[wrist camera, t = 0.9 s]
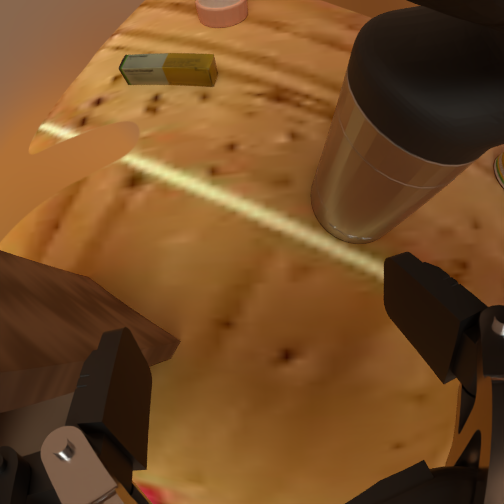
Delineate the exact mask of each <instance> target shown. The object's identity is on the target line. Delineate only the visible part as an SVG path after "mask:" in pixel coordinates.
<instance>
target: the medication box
mask: <svg viewBox="0 0 504 504" xmlns="http://www.w3.org/2000/svg"><path fill="white" fill-rule="evenodd" d="M119 70H120V72H121V74H122V75H123V77H124V78H125V80H126V82H127V83H128V85H186V86H206V87H214V84H215V82H216V79H217V75H218V72H217V67H216V63H215V58H214V54H189V53H166V54H137V55H125V56H124V58H123V60H122V62H121V64H120V66H119Z"/></svg>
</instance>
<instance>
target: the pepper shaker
mask: <svg viewBox="0 0 504 504" xmlns="http://www.w3.org/2000/svg"><path fill="white" fill-rule="evenodd" d="M195 3H196V8H197V12H198V16H199V20H200V22H201V23H202V24H204V25H206V26H209V27H215V28H221V27H228V26H233V25H235V24H238V23H240V22H241V21H243V20H244V19H245V18H246V16H247V13H248V10H247V0H196V2H195Z"/></svg>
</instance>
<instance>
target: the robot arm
mask: <svg viewBox="0 0 504 504" xmlns="http://www.w3.org/2000/svg"><path fill="white" fill-rule="evenodd" d="M407 1H410V2H413V3H415V4H418V5H421V6H417V7H411V8H405V9H400V10H394V11H390V12H386V13H383V14H380V15H378V16H376V17H374V18H373V19H371V20H370V21H368V22H367V23H366V24H365V25H364V26H363V27H362V29H361V30H360V32H359V33H358V35H357V37H356V40H355V42H354V45H353V48H352V52H351V56H350V60H349V64H348V67H347V70H346V74H345V77H344V81H343V85H342V88H341V92H340V95H339V99H338V103H337V106H336V110H335V113H334V116H333V120H332V123H331V126H330V130H329V133H328V136H327V140H326V143H325V146H324V150H323V153H322V156H321V159H320V163H319V165H318V168H317V172H316V175H315V178H314V182H313V185H312V189H311V202H312V207H313V210H314V213H315V215H316V217H317V219H318V220H319V222H320V224H321V225H322V226H323V227H324V228H325V229H326V230H327V231H328V232H329V233H331V234H332V235H333V236H335V237H336V238H339V239H341V240H343V241H346V242H350V243H355V244H364V243H369V242H373V241H375V240H377V239H379V238H381V237H382V236H384V235H385V234H386V233H388V232H389V231H390V230H392V229H393V228H394V227H396V226H397V225H398V224H400V223H401V222H402V221H404V220H405V219H406V218H407V217H409V216H410V215H411V214H412V213H414V212H415V211H416V210H417V209H419V208H420V207H421V206H422V205H424V204H425V203H426V202H427V201H429V200H430V199H431V198H432V197H433V196H435V195H436V194H437V193H438V192H440V191H441V190H442V189H443V188H444V187H446V186H447V185H448V184H449V183H450V182H452V181H453V180H454V179H455V178H456V177H457V176H458V175H460V174H461V173H462V172H463V171H464V170H465V169H467V168H468V167H469V166H470V165H471V164H472V163H473V162H475V161H476V160H477V159H478V158H479V157H480V156H481V155H482V154H484V153H485V152H486V151H487V150H489V149H490V148H492V147H495V146H498V145H502V144H504V0H407ZM384 305H385V309H386V312H387V314H388V316H389V317H390V319H391V320H392V321H393V322H394V323H395V325H396V326H397V327H398V328H399V329H400V331H401V332H402V333H403V334H404V335H405V337H406V338H407V339H408V340H409V341H410V343H411V344H412V345H413V346H414V348H415V349H416V350H417V351H418V353H419V354H420V355H421V356H422V358H423V359H424V360H425V361H426V363H427V364H428V365H429V366H430V368H431V369H432V370H433V371H434V373H435V374H436V375H437V376H438V378H439V379H440V380H441V382H442V383H443V384H446V383H447V382H449V381H451V380H453V379H455V378H457V379H458V380H459V381H460V384H459V387H458V397H457V409H456V420H455V429H454V437H453V442H452V446H451V449H450V452H449V455H448V458H447V461H446V465H445V467H438V468H432V469H429V468H428V466H427V464H426V463H425V461H424V460H423V461H421V462H419V463H417V464H415V465H413V466H411V467H409V468H407V469H405V470H403V471H401V472H398V473H396V474H394V475H392V476H389V477H387V478H385V479H383V480H380V481H379V482H377V483H376V484H374V485H373V486H372V487H370V488H369V489H367V490H366V491H364V492H363V493H361V494H360V495H358V496H356V497H355V498H353V499H352V500H350V501H349V502H347V503H345V504H504V306H502V305H495V306H491V307H487V306H486V305H485V304H484V303H483V302H481V301H480V300H479V299H478V298H477V297H476V296H474V295H473V294H472V293H471V292H469V291H468V290H467V289H466V288H465V287H463V286H462V285H461V284H458V282H457V281H456V280H455V279H453V278H452V277H451V278H450V275H448V274H447V273H446V272H444V271H443V270H442V269H441V268H439V267H437V266H434V265H432V264H429V263H426V262H421V261H420V260H419V259H418V258H416V257H415V256H414V255H412V254H411V253H410V252H404V253H401V254H398V255H395V256H392V257H388V258H386V259H385V262H384ZM76 386H77V389H75V392H74V395H73V398H72V402H71V405H70V409H69V412H68V416H67V419H66V423H65V426H63V427H60V428H58V429H56V430H54V431H53V432H51V433H50V434H49V435H48V436H47V438H46V439H45V440H44V442H43V444H42V447H41V451H38V452H35V453H32V454H29V455H26V456H20V455H19V454H18V453H17V452H16V451H15V450H14V449H13V448H11V447H9V446H1V447H0V504H152V503H151V501H150V500H149V499H148V498H147V497H146V496H145V494H144V493H143V492H142V491H141V490H140V489H139V487H138V486H137V485H136V484H135V483H134V482H133V481H132V471H133V470H147V447H148V429H149V414H150V400H151V389H152V375H151V371H150V368H149V365H148V363H147V361H146V359H145V357H144V355H143V354H142V352H141V350H140V348H139V346H138V344H137V342H136V340H135V338H134V337H133V335H132V333H131V331H130V330H129V329H128V328H127V327H123V328H119V329H114V330H110V331H105V332H103V334H102V336H101V339H100V342H99V346H98V349H97V350H93V351H92V352H91V354H90V355H89V356H88V358H87V359H86V360H85V362H84V363H83V366H82V369H81V372H80V378H79V379H78V382H77V385H76Z"/></svg>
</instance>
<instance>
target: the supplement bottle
mask: <svg viewBox="0 0 504 504" xmlns="http://www.w3.org/2000/svg"><path fill="white" fill-rule="evenodd" d="M494 170H495V174H496V177H497V179H498V181H499V183H500V184H501V185H502V187H503V188H504V152H503V153H502V154H500V155H499V156H498V157H497V158H496V160H495V163H494Z"/></svg>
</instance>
